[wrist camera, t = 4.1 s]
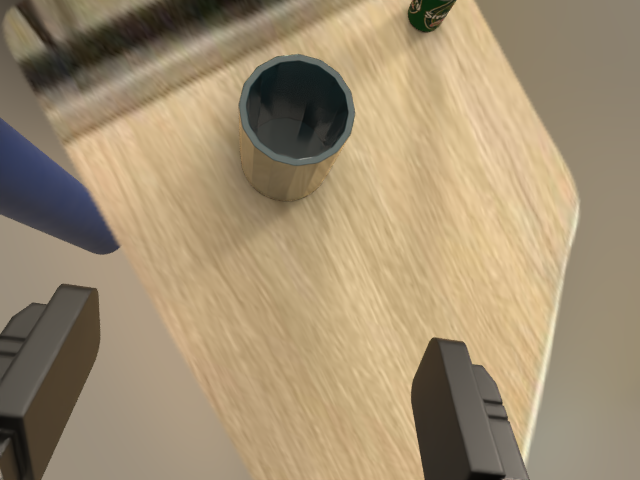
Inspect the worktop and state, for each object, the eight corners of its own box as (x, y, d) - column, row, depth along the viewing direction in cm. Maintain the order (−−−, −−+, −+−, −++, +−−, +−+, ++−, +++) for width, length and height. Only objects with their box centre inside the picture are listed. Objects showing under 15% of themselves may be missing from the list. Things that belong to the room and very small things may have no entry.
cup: (231, 189, 38) (227, 148, 29) (252, 106, 39) (254, 41, 30) (318, 210, 39) (341, 177, 30) (336, 128, 40) (364, 71, 31)
